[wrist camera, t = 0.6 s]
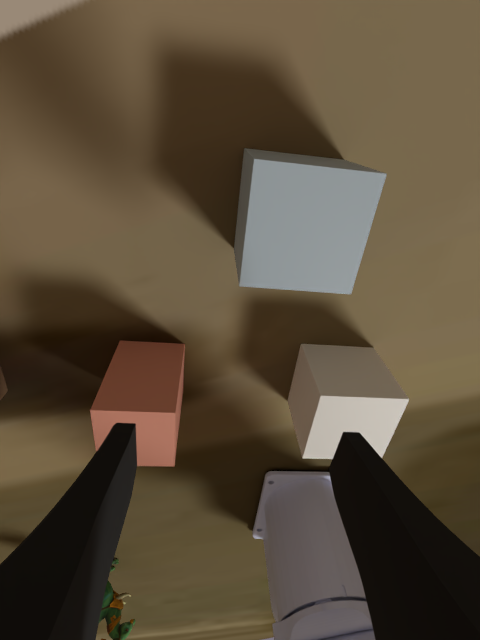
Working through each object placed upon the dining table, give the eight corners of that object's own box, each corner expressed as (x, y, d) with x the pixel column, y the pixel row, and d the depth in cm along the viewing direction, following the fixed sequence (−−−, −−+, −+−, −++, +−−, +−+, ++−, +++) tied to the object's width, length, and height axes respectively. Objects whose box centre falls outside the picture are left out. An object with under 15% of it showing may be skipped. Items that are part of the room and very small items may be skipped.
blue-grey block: (321, 255, 20) (350, 294, 15) (233, 248, 19) (239, 286, 15) (343, 159, 17) (386, 174, 13) (243, 147, 17) (254, 158, 12)
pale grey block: (353, 402, 26) (381, 459, 21) (287, 400, 25) (302, 458, 21) (373, 347, 23) (409, 399, 19) (300, 342, 23) (320, 395, 18)
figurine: (138, 575, 36) (120, 686, 29) (16, 555, 33) (-38, 674, 26) (148, 561, 35) (132, 673, 28) (22, 538, 32) (-33, 659, 25)
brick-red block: (183, 391, 24) (174, 466, 19) (123, 389, 24) (98, 465, 18) (184, 343, 22) (175, 412, 17) (119, 340, 22) (90, 410, 16)
